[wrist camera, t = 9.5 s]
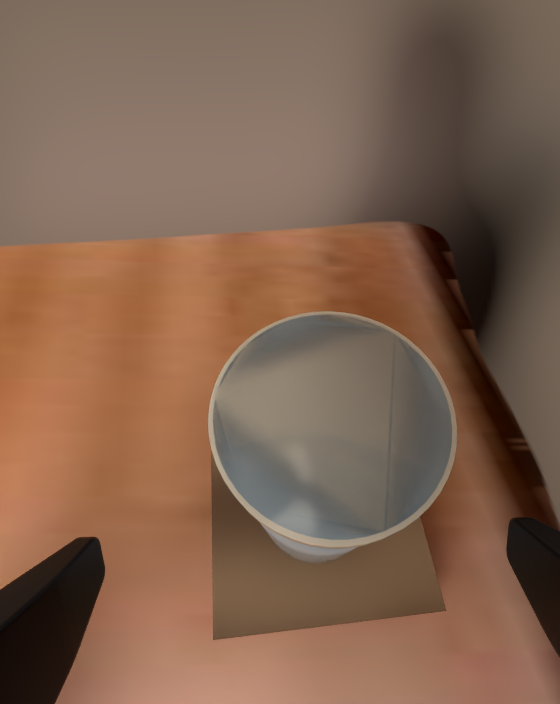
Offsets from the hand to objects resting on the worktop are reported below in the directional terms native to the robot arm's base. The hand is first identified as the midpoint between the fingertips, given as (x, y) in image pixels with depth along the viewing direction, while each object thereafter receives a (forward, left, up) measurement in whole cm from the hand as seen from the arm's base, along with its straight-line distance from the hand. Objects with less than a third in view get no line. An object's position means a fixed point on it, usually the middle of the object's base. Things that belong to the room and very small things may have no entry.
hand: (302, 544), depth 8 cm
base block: (+3, -1, -14) cm, 14 cm away
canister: (+2, -1, -11) cm, 11 cm away
